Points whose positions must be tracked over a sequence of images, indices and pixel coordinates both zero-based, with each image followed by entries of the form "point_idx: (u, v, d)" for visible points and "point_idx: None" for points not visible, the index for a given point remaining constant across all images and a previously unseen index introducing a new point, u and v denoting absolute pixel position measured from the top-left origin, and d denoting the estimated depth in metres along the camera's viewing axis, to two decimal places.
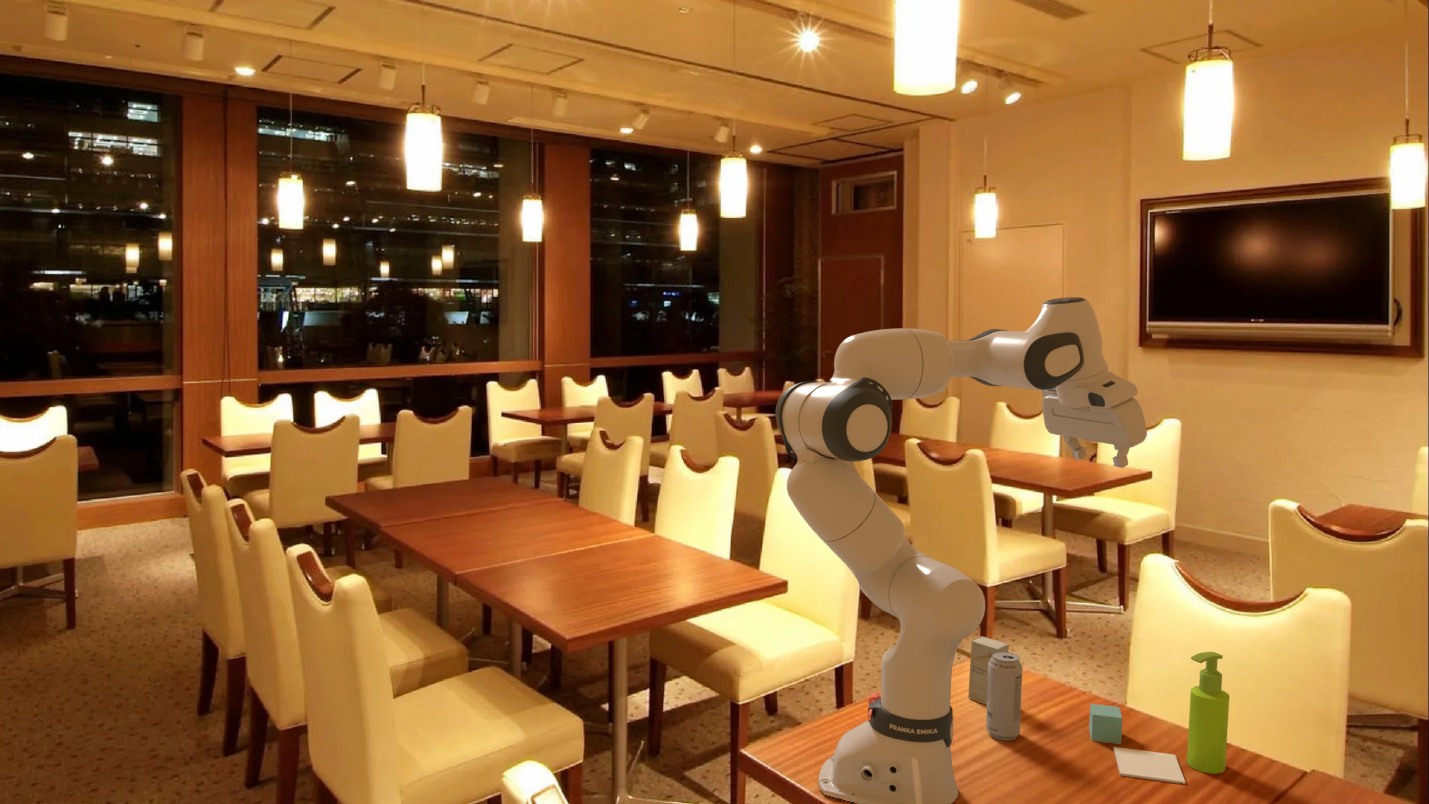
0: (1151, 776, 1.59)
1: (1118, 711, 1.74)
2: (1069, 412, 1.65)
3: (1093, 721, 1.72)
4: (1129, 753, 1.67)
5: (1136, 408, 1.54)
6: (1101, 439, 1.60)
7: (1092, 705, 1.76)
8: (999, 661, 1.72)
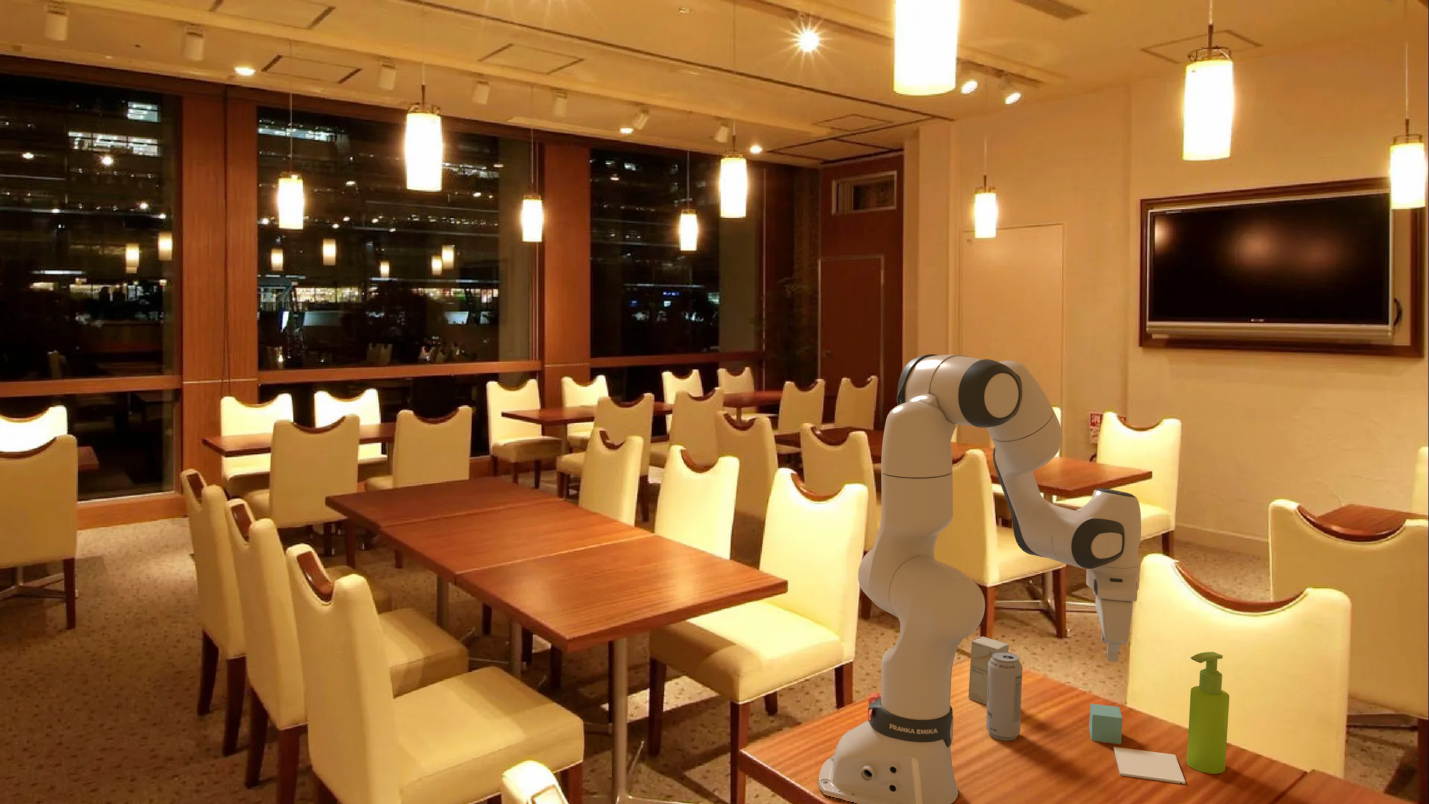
0: (1151, 776, 1.59)
1: (1118, 711, 1.74)
2: None
3: (1093, 721, 1.72)
4: (1129, 753, 1.67)
5: (1125, 612, 1.62)
6: (1101, 627, 1.70)
7: (1092, 705, 1.76)
8: (999, 661, 1.72)
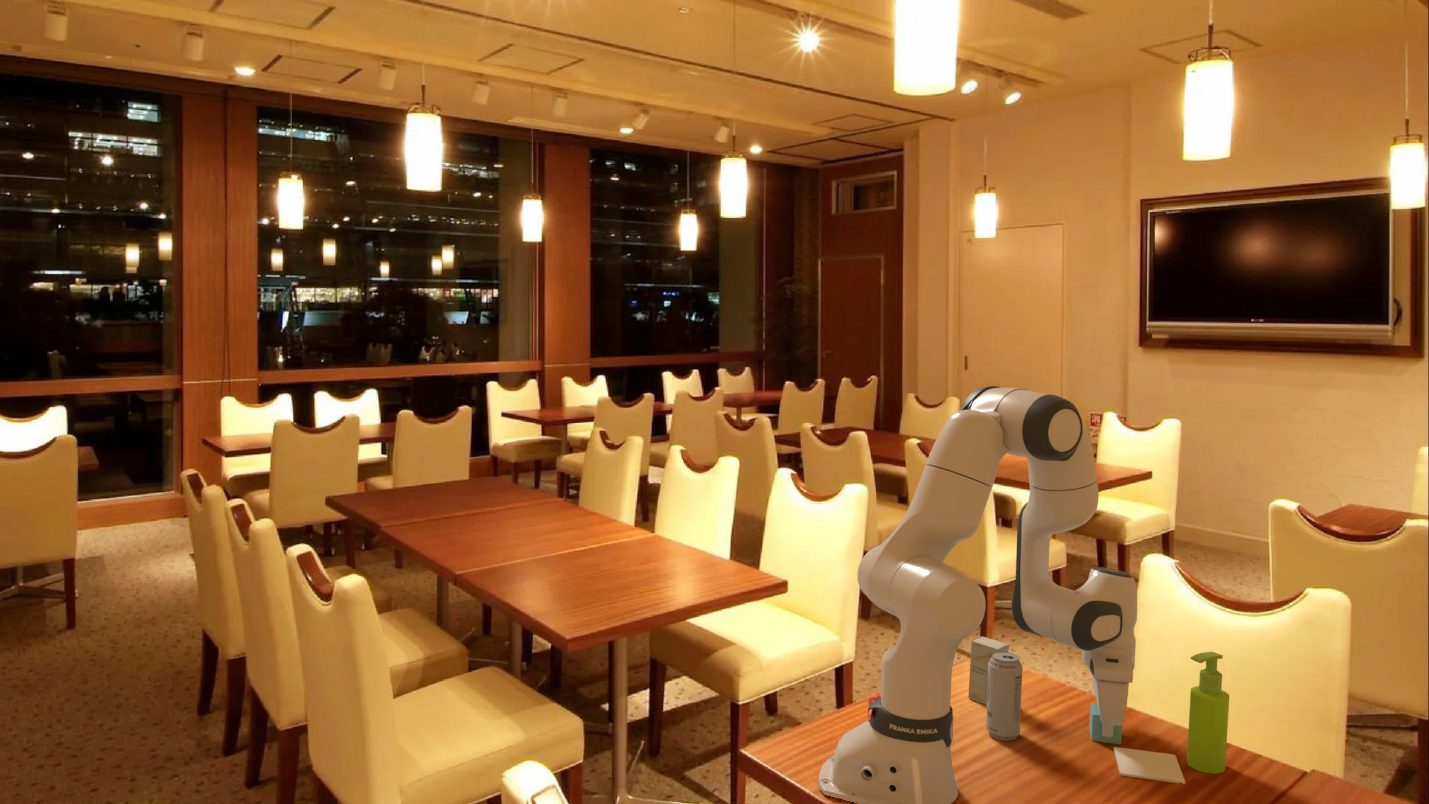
0: (1151, 776, 1.59)
1: None
2: None
3: (1093, 721, 1.72)
4: (1129, 753, 1.67)
5: (1121, 693, 1.64)
6: (1097, 705, 1.71)
7: (1092, 705, 1.76)
8: (999, 661, 1.72)
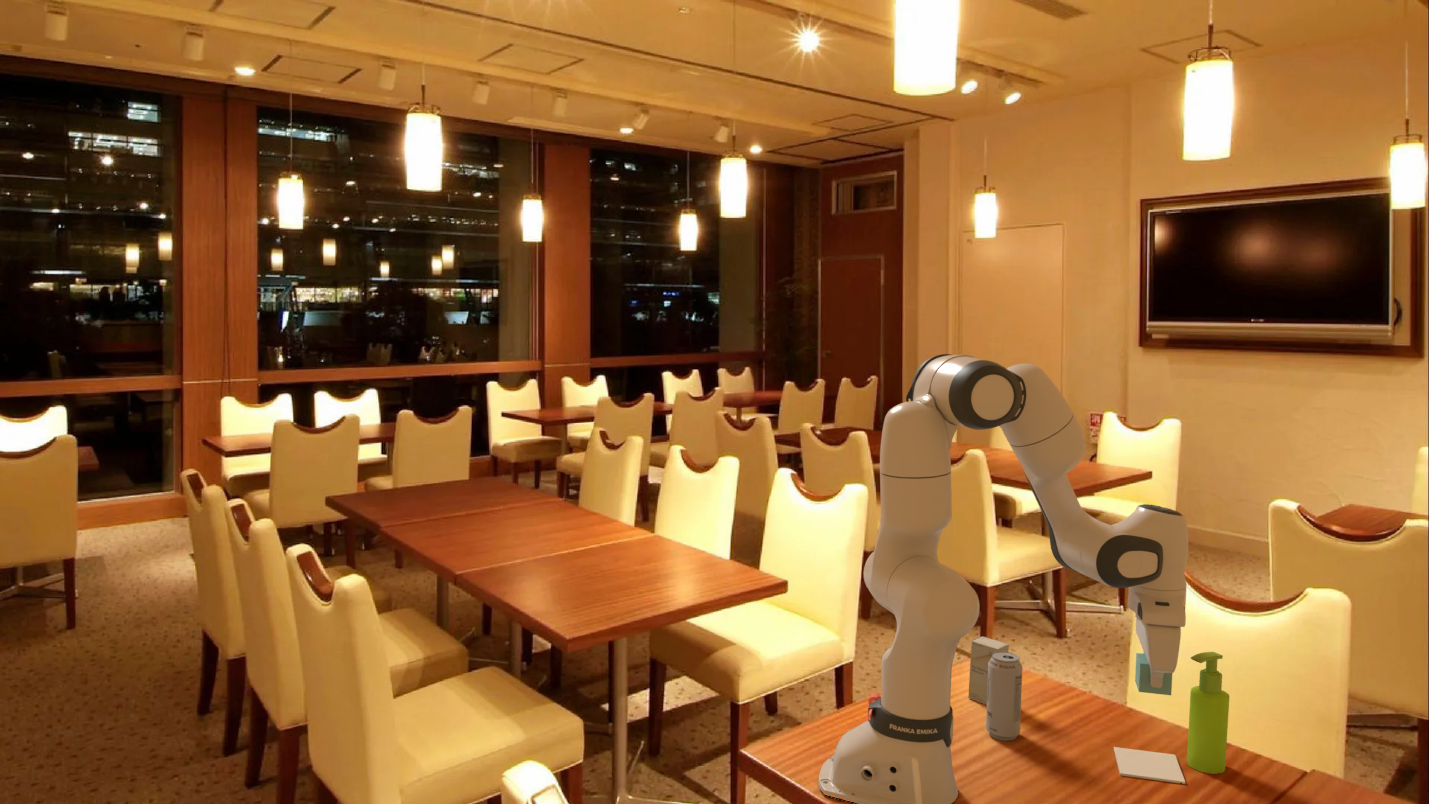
0: (1151, 776, 1.59)
1: None
2: None
3: (1141, 670, 1.60)
4: (1129, 753, 1.67)
5: (1172, 638, 1.51)
6: (1145, 654, 1.58)
7: (1139, 654, 1.63)
8: (999, 661, 1.72)
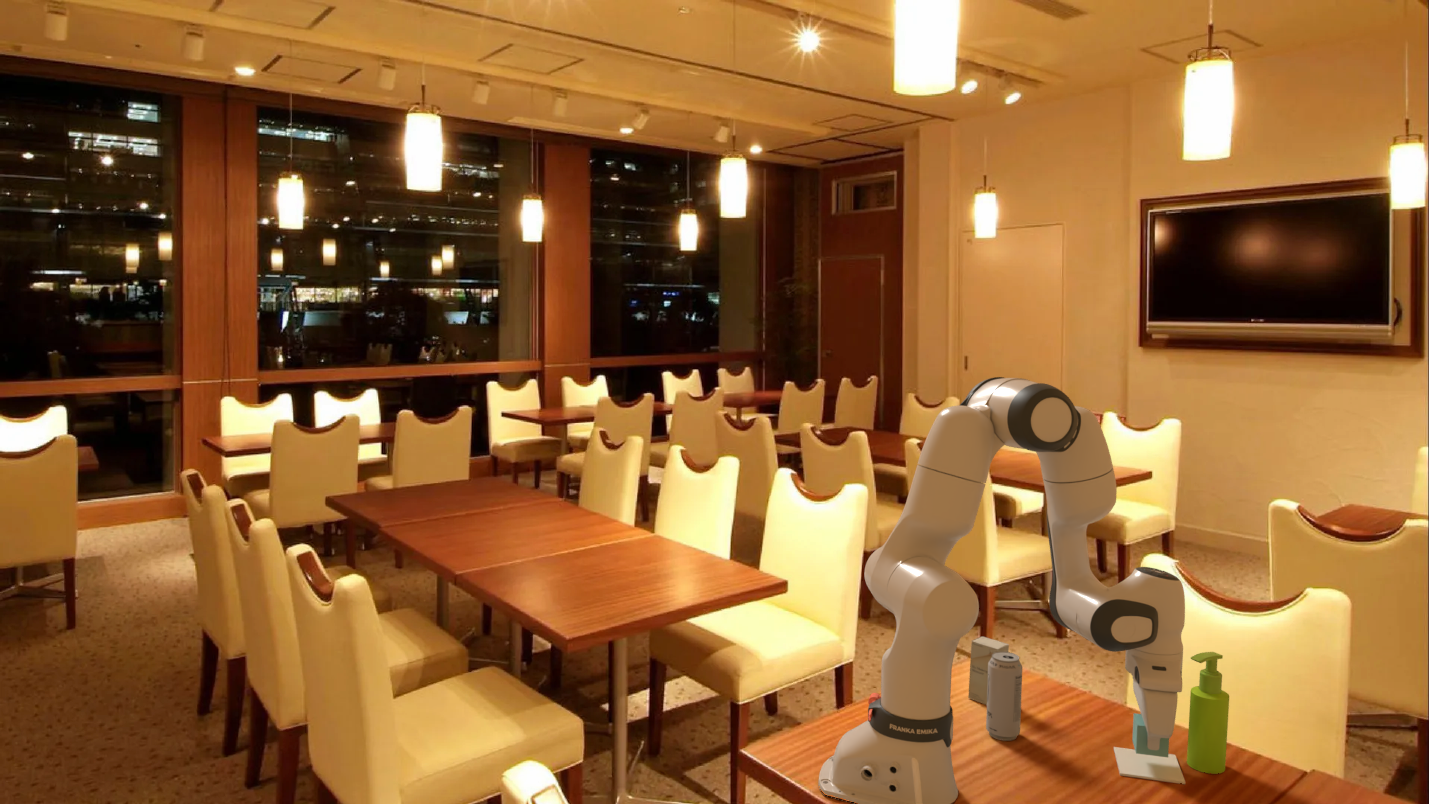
0: (1151, 776, 1.59)
1: None
2: None
3: (1138, 732, 1.61)
4: (1129, 753, 1.67)
5: (1169, 704, 1.52)
6: (1142, 716, 1.59)
7: (1136, 715, 1.65)
8: (999, 661, 1.72)
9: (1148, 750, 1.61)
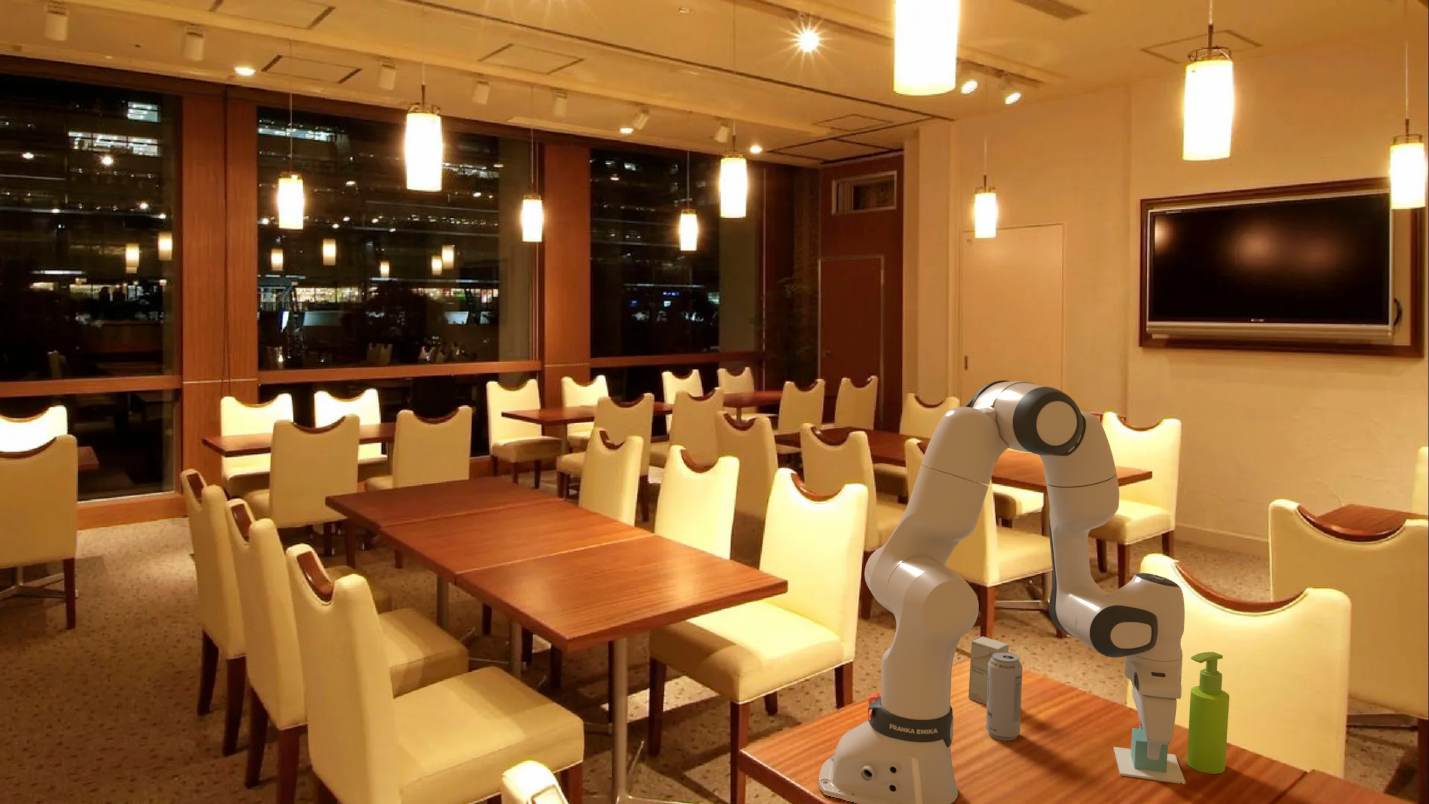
0: (1151, 776, 1.59)
1: None
2: None
3: (1136, 747, 1.61)
4: (1129, 753, 1.67)
5: (1168, 710, 1.52)
6: (1141, 722, 1.59)
7: (1135, 729, 1.65)
8: (999, 661, 1.72)
9: (1146, 765, 1.61)
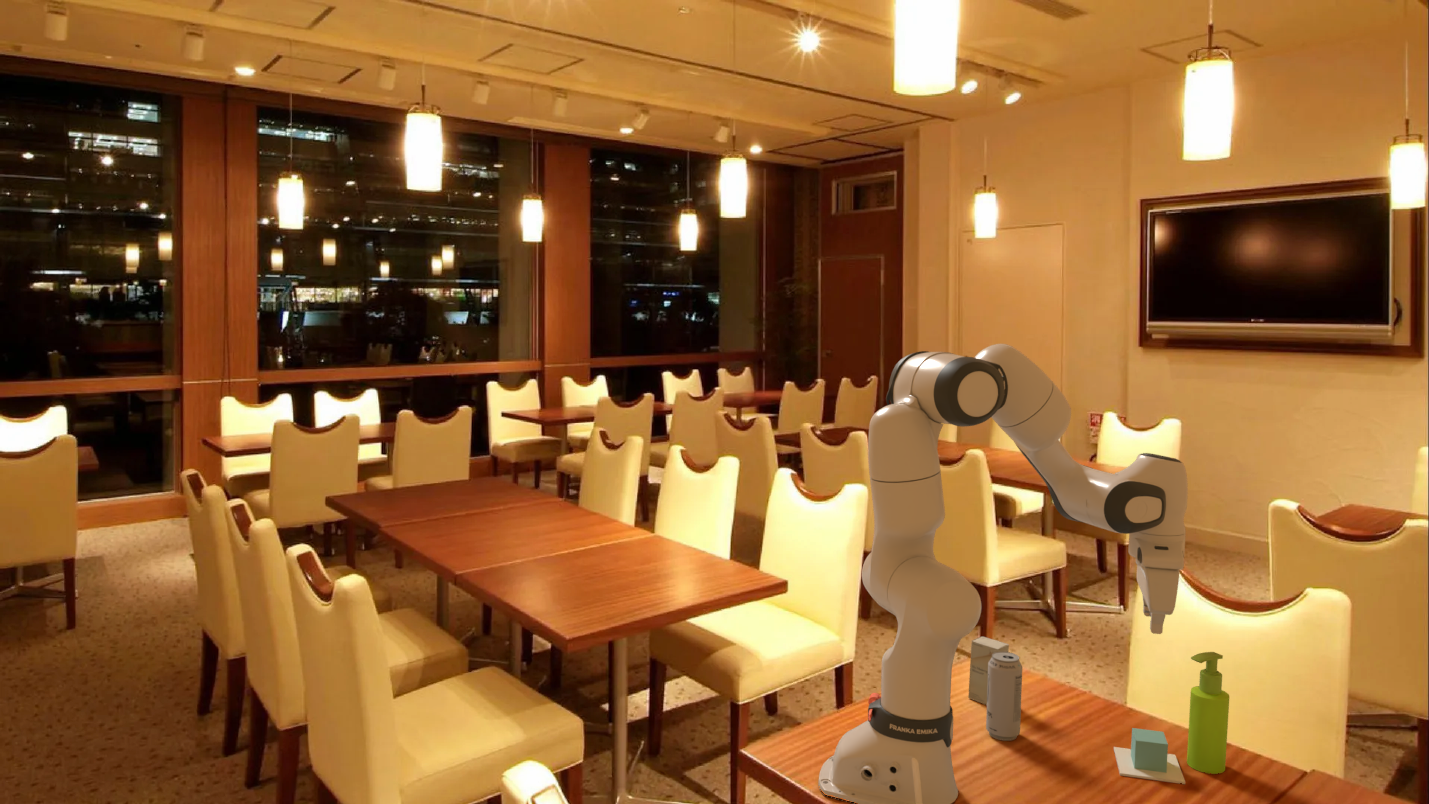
0: (1151, 776, 1.59)
1: (1163, 736, 1.62)
2: None
3: (1136, 747, 1.61)
4: (1129, 753, 1.67)
5: (1171, 580, 1.55)
6: (1144, 598, 1.62)
7: (1135, 729, 1.65)
8: (999, 661, 1.72)
9: (1146, 765, 1.61)
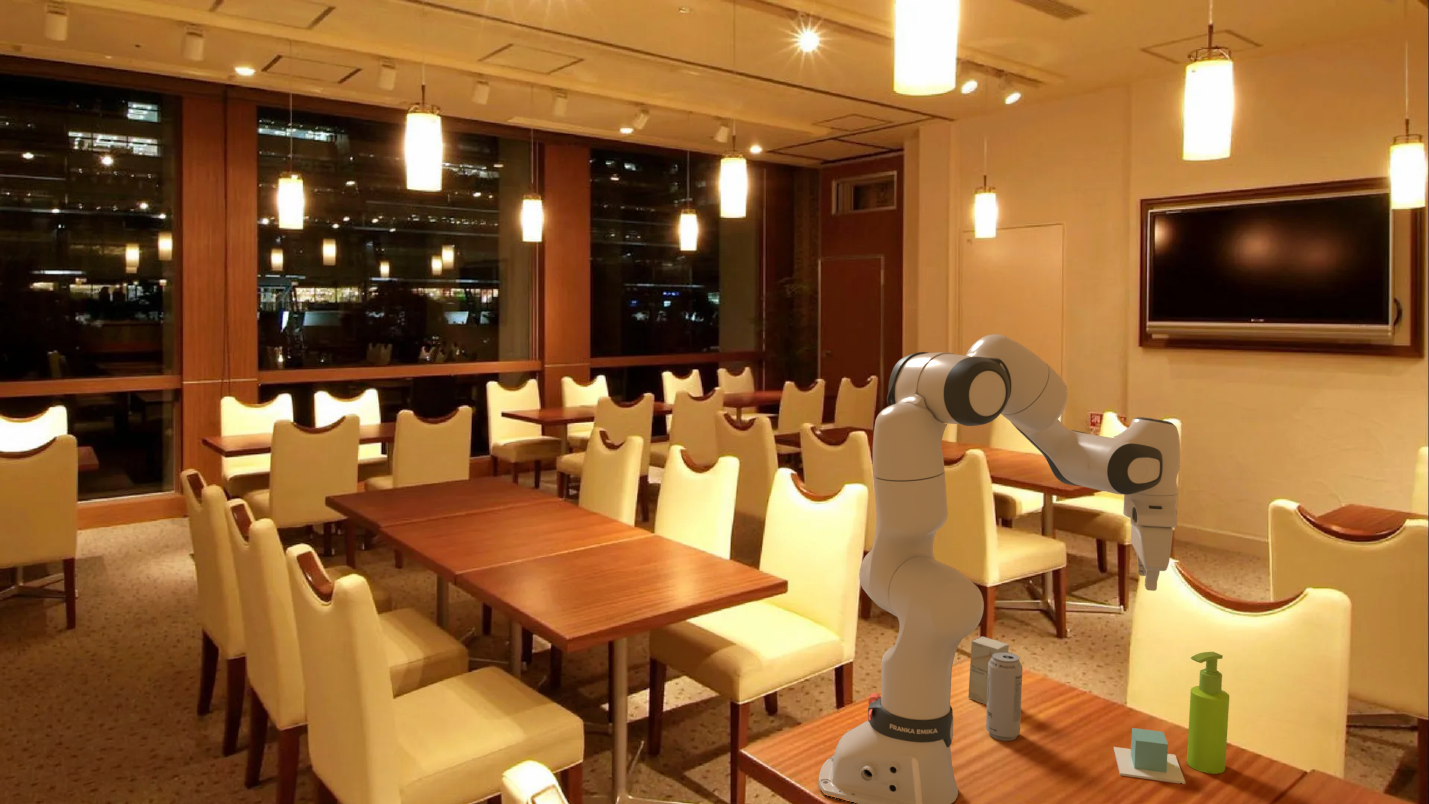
0: (1151, 776, 1.59)
1: (1163, 736, 1.62)
2: None
3: (1136, 747, 1.61)
4: (1129, 753, 1.67)
5: (1165, 537, 1.61)
6: (1139, 556, 1.68)
7: (1135, 729, 1.65)
8: (999, 661, 1.72)
9: (1146, 765, 1.61)
